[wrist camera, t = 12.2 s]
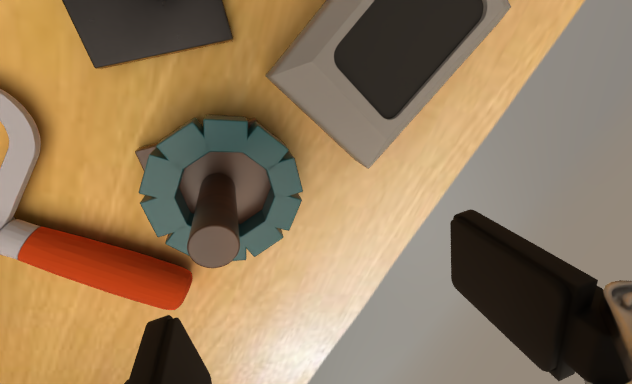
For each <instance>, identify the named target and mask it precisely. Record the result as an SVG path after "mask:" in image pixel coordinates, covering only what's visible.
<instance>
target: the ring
mask: <svg viewBox="0 0 632 384" xmlns="http://www.w3.org/2000/svg"><path fill="white" fill-rule="evenodd" d="M209 152H240V153H244V154H245V155H246V156H248V157H249V158H251V159H252V160H253V161H255V162H256V163H258V164H259V165H260V166H262V167H263V168H264V169H266V172H267V176H268V179H269V182H270V185H271V188H270V191H269V193H268V196H267V198H266V201H265V204H264V206H263V209H262V210H261V211H259V212H258V213H256V214H255V215H253V216H252V217H250V218H249V219H247V220H246V221H244V222H243V223H242V224H238V225H239V238H240V249H239V252H238V254H237V256H236V257H235V258H234V259H233V260H232V261H237V260H246V248H247V249H248V250H249V251H250V253H251V254H252V255H253V256H254V257H255V256H257V255H258V254H260V253H261V252H263V251H264V250H266V249H267V248H269V247H270V246H272V245H273V244H275V243H276V242H277V241H279V240H280V239H282V238H283V234H282V231H281V229H284V230H288V231H289V230H290V227H291V225H292V223H293V220H294V218H295V215H296V213H297V211H298V208H299V206H300V204H301V201H302V199H301V198H300V196H299V194H298V193H300V192H302V191H303V190H302V186H301V182H300V178H299V174H298V170H297V166H296V162H295V159H294V157H293V156H292V155H291V153H290V152H289V151H288V148H287V147H286V146H285V144H284V143H283V142H282V141H280V140H279V139H278V138H277V137H275V136H274V135H273V134H271V133H270V132H269V131H268V130H266V129H265V128H264V127H263V126H261V125H260V124H259V123H258V122H256V121H254V122H253V124H252V125H251V126H250V128H249V129H248V121H247V119H246V117H236V116H219V115H205V117H204V119H203V126H202V125H201V124H200V122H199V121H198V120H197V118H193V119H192V120H190V121H189V122H187V123H186V124H184V125H183V126H181V127H180V128H178V129H177V130H175V131H173V132H172V133H170V134H169V135H167V136H166V137H164V138H163V139H162V140H161V141H160V142H159V143H158V144H157V145H156V148H155V149H154V150H153V151H152V152H151V153H150V154H149V157H148V160H147V164H146V168H145V171H144V175H143V179H142V182H141V186H140V190H139V193H140V194H144V195H145V196H144V198H143V199H142V201H141V202H140V204H141V206H142V208H143V210H144V212H145V214H146V216H147V218H148V220H149V221H150V223H151V225H152V227H153V229H154V231H155V233H156V235H157V237H160V236H164V235H167V234H168V237H167V240H166V242H165V244H167V245H169V246H171V247H173V248H175V249H177V250H179V251H181V252H183V253H185V254H187V255H189V254H188V250H187V243H188V239H189V234H190V230H191V226H192V221H193V217H194V214H193V213H191V212H190V211H189V208H188V206H187V204H186V202H185V200H184V197H183V195H182V193H181V191H180V188H179V186H180V182H181V179H182V176H183V173H184V169H185V168H186V167H188V166H189V165H191V164H192V163H194V162H195V161H197V160H198V159H200V158H201V157H203V156H204V155H206V154H207V153H209Z"/></svg>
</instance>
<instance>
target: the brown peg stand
mask: <svg viewBox="0 0 632 384" xmlns="http://www.w3.org/2000/svg"><path fill="white" fill-rule="evenodd" d="M247 121H248V129H249V128H250V126H251V125H252V124H253V122H254V121H256V122H257V120H256V118H253V119H249V120H247ZM157 144H158V143H156V144H152V145H149V146H145V147H141V148H139V149H137V150H136V151H135V153H136V155H137V157H138V159H139V161H140V163H141V165H142V167H143V169H144V171H145V168H146V164H147V160H148V157H149V154H150V153H151V152H152V151H153V150H154V149H155V148H156V145H157ZM179 188H180V191H181V193H182V195H183V197H184V200H185V202H186V204H187V206H188V208H189V211H190V212H191V213H193V214H194V217H193V221H192V226H191V230H190V234H189V239H188V243H187V250H188V254H189V256H190V257H191V259H192V260H193V261H194V262H195V263H197V264H198V265H200V266H203V267H207V268H218V267H222V266H225V265H227V264H229V263H230V262H231V261H232V260H233V259H234V258H235V257H236V256H237V254H238V252H239V249H240V238H239V225H238V224H242V223H243V222H244V221H246V220H247V219H249V218H250V217H252V216H253V215H255V214H256V213H258V212H259V211H261V210H262V209H263V206H264V204H265V201H266V198H267V196H268V193H269V191H270V188H271V185H270V182H269V179H268V176H267V172H266V169H264V168H263V167H262V166H260V165H259V164H258V163H256V162H255V161H253V160H252V159H251V158H249V157H248V156H246V155H245V154H244V153H240V152H209V153H207V154H206V155H204V156H203V157H201V158H200V159H198V160H197V161H195V162H194V163H192V164H191V165H189V166H188V167H186V168H185V169H184V173H183V176H182V179H181V182H180V186H179Z"/></svg>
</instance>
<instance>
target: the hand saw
mask: <svg viewBox="0 0 632 384" xmlns="http://www.w3.org/2000/svg"><path fill="white" fill-rule="evenodd" d="M0 121H1V122H2V124H3V125H4V127H5V129H6V131H7V133H8V137H9V148H8V151H7V153H6V156H5V158H4V161H3V163H2V166H1V168H0V255H4V256H7V257H11V258H14V259H17V260H19V261H22V262H25V263H27V264H30V265H32V266H35V267H38V268H40V269H43V270H46V271H48V272H51V273H53V274H56V275H59V276H62V277H65V278H68V279H71V280H74V281H76V282H79V283H82V284H85V285H88V286H91V287H94V288H97V289H100V290H103V291H106V292H108V293H111V294H115V295H118V296H121V297H124V298H128V299H131V300H134V301H137V302H141V303H144V304H148V305H151V306H155V307H158V308H161V309H166V310H175V309H177V308H178V307H179V306H180V305H181V304H182V303H183V301H184V299H185V297H186V295H187V293H188V291H189V288H190V285H191V283H192V273H191V272H190V271H189V270H187V269H185V268H183V267H180V266H177V265H174V264H171V263H168V262H165V261H162V260H159V259H156V258H153V257H150V256H147V255H144V254H141V253H138V252H134V251H131V250H127V249H124V248H120V247H117V246H113V245H110V244H106V243H103V242H99V241H95V240H92V239H88V238H85V237H81V236H78V235H74V234H70V233H66V232H62V231H58V230H54V229H50V228H46V227H42V226H37V225H34V224H31V223H28V222H25V221H22V220H19V219H15V217H13V216H14V214H15V212H16V210H17V207H18V205H19V202H20V200H21V198H22V195H23V193H24V190H25V188H26V186H27V183H28V181H29V178H30V176H31V174H32V171H33V169H34V166H35V164H36V162H37V159H38V157H39V154H40V148H41V139H40V134H39V131H38V128H37V125H36V124H35V122H34V120H33V118H32V116H31V115H30V114H29V112H28V111H27V110H26V109H25V107H24V106H23V105H22V104H21V103H19V102H18V101H17V100H16V99H15V98H14V97H12V96H11V95H10V94H8V93H7V92H5V91H3V90H2V89H0Z"/></svg>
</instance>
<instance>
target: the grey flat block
mask: <svg viewBox="0 0 632 384" xmlns="http://www.w3.org/2000/svg"><path fill="white" fill-rule="evenodd" d="M510 7H511V6H510V4H509V2H508V0H326V2H325V3H324V4H323V5H322V7H321V8H320V9H319V10H318V11H317V13H316V14H315V15H314V16H313V18H312V19H311V20H310V21H309V23H308V24H307V25H306V26H305V27H304V29H303V30H302V31H301V32H300V34H299V35H298V36H297V37H296V39H295V40H294V41H293V42H292V44H291V45H290V46H289V47H288V48H287V50H286V51H285V52H284V53H283V55H282V56H281V57H280V58H279V60H278V61H277V62H276V63H275V65H274V66H273V67H272V68H271V69H270V71H269V72H268V73H267V74H266V77H267V78H268V79H269V80H270V81H271V82H272V83H273V84H275V85H276V86H277V87H278V88H279V89H280V90H281V91H282V92H283V93H284V94H285V95H286V96H287V97H288V98H290V99H291V100H292V101H293V102H294V103H295V104H296V105H297V106H298V107H299V108H300V109H301V110H302V111H303V112H305V113H306V114H307V115H308V116H309V117H310V118H311V119H312V120H313V121H314V122H315V123H316V124H317V125H318V126H320V127H321V128H322V129H323V130H324V131H325V132H326V133H327V134H328V135H329V136H330V137H331V138H332V139H333V140H335V141H336V142H337V143H338V144H339V145H340V146H341V147H342V148H343V149H344V150H345V151H346V152H347V153H348V154H350V155H351V156H352V157H353V158H354V159H355V160H356V161H357V162H359V163H360V164H362V165H363V166H365V167H366V168H368V169H369V168H370V167H371V166H372V165H373V163H374V162H375V161H376V160H377V159H378V158H379V157H380V156H381V154H382V153H383V152H384V151H385V150H386V149H387V148H388V147H389V145H390V144H391V143H392V142H393V141H394V140H395V139H396V138H397V136H398V135H399V134H400V133H401V132H402V131H403V130H404V129H405V127H406V126H407V125H408V124H409V123H410V122H411V121H412V120H413V118H414V117H415V116H416V115H417V114H418V113H419V112H420V111H421V109H422V108H423V107H424V106H425V105H426V104H427V103H428V102H429V100H430V99H431V98H432V97H433V96H434V95H435V94H436V93H437V91H438V90H439V89H440V88H441V87H442V86H443V85H444V84H445V82H446V81H447V80H448V79H449V78H450V77H451V76H452V75H453V73H454V72H455V71H456V70H457V69H458V68H459V67H460V66H461V64H462V63H463V62H464V61H465V60H466V59H467V58H468V57H469V55H470V54H471V53H472V52H473V51H474V50H475V49H476V48H477V46H478V45H479V44H480V43H481V42H482V41H483V40H484V39H485V37H486V36H487V35H488V34H489V33H490V32H491V31H492V30H493V28H494V27H495V26H496V25H497V24H498V23H499V22H500V20H501V19H502V18H503V17H504V15H505V14H506V13H507V11H508V10H509V9H510Z"/></svg>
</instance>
